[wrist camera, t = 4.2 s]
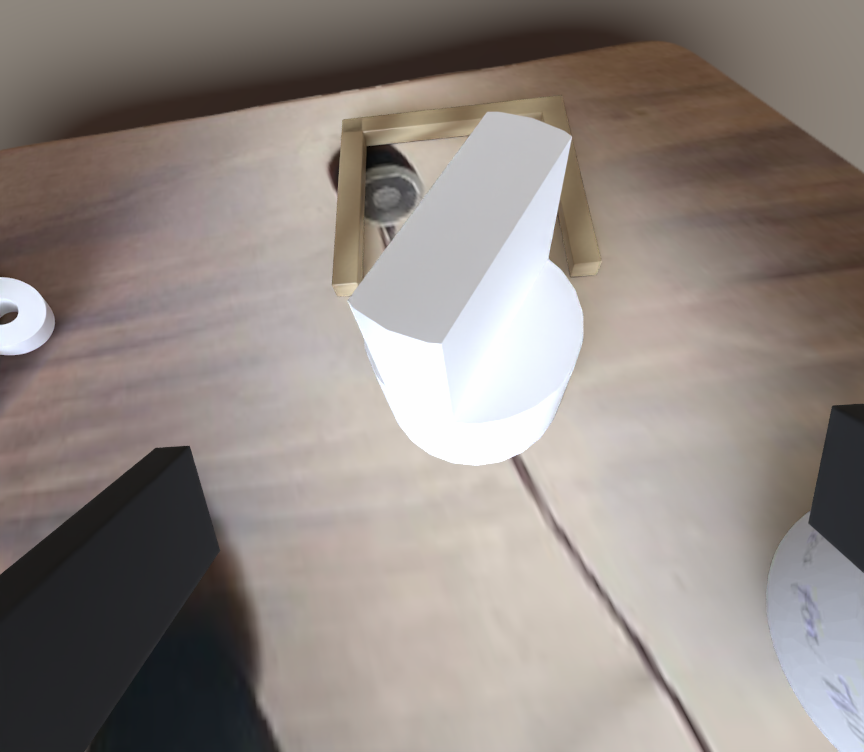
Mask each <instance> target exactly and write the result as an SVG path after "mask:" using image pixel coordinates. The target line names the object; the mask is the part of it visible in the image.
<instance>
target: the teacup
mask: <svg viewBox="0 0 864 752" xmlns="http://www.w3.org/2000/svg"><path fill="white" fill-rule="evenodd" d="M810 512H811V511H809V512H808V513H806V514H805V515H804V516H803V517H802V518H800V519H799V520H798V521H797V522H796V523H795V524H794V525H793V526H792V527H791V528H790V529H789V531H788V532H787V534H786V535H785V536H784V538H783V539H782V541H781V542H780V544H779V546H778V548H777V550H776V552H775V554H774V557H773V559H772V563H771V566H770V570H769V574H768V580H767V591H766V607H767V617H768V624H769V629H770V633H771V637H772V641H773V645H774V649H775V651H776V654H777V657H778V659H779V662H780V664H781V667H782V669H783V672H784V674H785V676H786V678H787V680H788V682H789V684H790V686H791V688H792V689H793V691H794V693H795V695H796V696H797V698H798V700H799V701H800V703H801V705H802V706H803V708H804V709H805V711H806V712H807V713H808V715H809V716H810V718H811V719H812V720H813V722H814V723H815V724H816V726H817V727H818V728H819V729H820V731H821V732H822V733H823V734H824V735H825V736H826V738H827V739H828V740H829V741H830V742H831V743H832V744H833V745H834V746H835V748H836V749H837V750H838V751H839V752H864V573H863V572H862V571H861V570H860V569H858V568H857V567H856V566H855V565H854V564H853V563H852V562H851V561H849V560H848V559H847V558H846V557H845V556H844V555H843V554H842V553H841V552H839V551H838V550H837V549H836V548H835V547H834V546H833V545H832V544H831V543H829V542H828V541H827V540H826V539H825V538H824V537H823V536H822V535H821V534H819V533H818V532H817V531H816V530H815V529H814V528H813V527H812V526H810V525H809V524H808V522H809V517H810Z"/></svg>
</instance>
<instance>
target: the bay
mask: <svg viewBox="0 0 864 752" xmlns="http://www.w3.org/2000/svg"><path fill="white" fill-rule="evenodd" d="M487 112H503V113H508V114H514V115H519V116H524V117H530V118H534V119H536V120H539V121H541V122H544V123H546V124H549V125H551V126H554V127H556V128H559V129H561V130H563V131H565V132H567V133H568V134H569V135H571V131H570V127H569V123H568V119H567V114H566V110H565V106H564V102H563V98H562V95H558V96H549V97H540V98H532V99H523V100H514V101H505V102H496V103H487V104H478V105H469V106H460V107H451V108H442V109H433V110H424V111H415V112H406V113H397V114H388V115H379V116H370V117H361V118H352V119H343V120H342V135H341V151H340V166H339V182H338V198H337V213H336V229H335V245H334V260H333V276H332V286H333V288H334V291H335V293H336V295H337V297H342V296H351V295H352V294H353V292H354V291H355V290H356V288H357V287H358V286H359V284H360V283H361V282H362V278H363V245H364V213H365V180H366V147H367V146H374V145H383V144H392V143H402V142H411V141H421V140H430V139H439V138H449V137H458V136H467V135H470V134H471V133H472V132H473V130H474V129H475V128H476V126H477V125H478V124H479V122H480V121H481V120H482V118H483V117H484V115H485V114H486V113H487ZM571 136H572V135H571ZM557 212H558V217H559V222H560V227H561V232H562V237H563V242H564V247H565V252H566V257H567V262H568V267H569V272H570V277H577V276H589V275H597V273H598V270H599V267H600V264H601V258H600V253H599V249H598V245H597V241H596V237H595V232H594V228H593V224H592V220H591V215H590V211H589V207H588V203H587V199H586V194H585V190H584V186H583V182H582V178H581V173H580V169H579V165H578V161H577V156H576V152H575V148H574V144H573V140H572V139H571V145H570V150H569V155H568V160H567V165H566V170H565V175H564V180H563V185H562V191H561V196H560V201H559V206H558V211H557Z"/></svg>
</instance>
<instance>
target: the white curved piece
mask: <svg viewBox="0 0 864 752" xmlns="http://www.w3.org/2000/svg"><path fill="white" fill-rule="evenodd" d="M9 312H19V313H18V316H17V318H16V319H15V320H14V321H12V322H10V323H8V324H4V325H0V355H19V354H24V353H28V352H30V351H33V350H35V349H37V348H39V347H40V346H42V345H43V344H44V343H45V342H46V341H47V340H48V339H49V338H50V336H51V334H52V332H53V330H54V326H55V318H54V314H53V311H52V309H51V308H50V306H49V305H48V304H47V303H46V301H45V300H44V299H43V298H42V296H41V295H40V294H39V293H38V292H37V291H36V290H35V289H34V288H33V287H32V286H30V285H28V284H26V283H25V282H22V281H20V280H16V279H12V278H6V277H0V318H1V317H2V316H3V315H4V314H6V313H9Z"/></svg>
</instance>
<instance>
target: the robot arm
mask: <svg viewBox="0 0 864 752" xmlns="http://www.w3.org/2000/svg"><path fill="white" fill-rule="evenodd" d="M808 524H809V525H810V526H812V527H813V528H814V529H815V530H816V531H817V532H818V533H819V534H821V535H822V536H823V537H824V538H825V539H826V540H827V541H828V542H829V543H831V544H832V545H833V546H834V547H835V548H836V549H837V550H838V551H839V552H841V553H842V554H843V555H844V556H845V557H846V558H847V559H848V560H849V561H851V562H852V563H853V564H854V565H855V566H856V567H857V568H858V569H860V570H861V571H862V572H863V573H864V404H851V405H835V406H832V409H831V414H830V419H829V424H828V429H827V434H826V438H825V443H824V448H823V453H822V458H821V463H820V468H819V473H818V478H817V482H816V487H815V492H814V497H813V502H812V507H811V512H810V517H809V522H808ZM219 551H220V549H219V546H218V542H217V539H216V535H215V532H214V528H213V525H212V521H211V518H210V514H209V511H208V508H207V504H206V501H205V497H204V494H203V490H202V487H201V483H200V480H199V476H198V473H197V469H196V466H195V463H194V459H193V456H192V452H191V449H190V446H179V447H163V448H155V449H154V450H153V451H151V452H150V453H149V454H148V455H146V456H145V457H144V458H143V459H142V460H140V461H139V462H138V463H137V464H135V465H134V466H133V467H132V468H131V469H129V470H128V471H127V472H126V473H124V474H123V475H122V476H121V477H119V478H118V479H117V480H116V481H115V482H113V483H112V484H111V485H110V486H108V487H107V488H106V489H105V490H104V491H102V492H101V493H100V494H99V495H97V496H96V497H95V498H94V499H93V500H91V501H90V502H89V503H88V504H86V505H85V506H84V507H83V508H82V509H80V510H79V511H78V512H77V513H75V514H74V515H73V516H72V517H70V518H69V519H68V520H67V521H66V522H64V523H63V524H62V525H61V526H59V527H58V528H57V529H56V530H55V531H53V532H52V533H51V534H50V535H48V536H47V537H46V538H45V539H44V540H42V541H41V542H40V543H39V544H37V545H36V546H35V547H34V548H33V549H31V550H30V551H29V552H28V553H26V554H25V555H24V556H23V557H21V558H20V559H19V560H18V561H17V562H15V563H14V564H13V565H12V566H10V567H9V568H8V569H7V570H6V571H4V572H3V573H2V574H1V575H0V752H84V751H85V750H86V748H87V747H88V745H89V744H90V742H91V741H92V739H93V738H94V736H95V735H96V733H97V732H98V731H99V729H100V728H101V726H102V725H103V723H104V722H105V720H106V719H107V717H108V716H109V714H110V713H111V711H112V710H113V708H114V707H115V705H116V704H117V702H118V701H119V699H120V698H121V696H122V695H123V694H124V692H125V691H126V689H127V688H128V686H129V685H130V683H131V682H132V680H133V679H134V677H135V676H136V674H137V673H138V671H139V670H140V668H141V667H142V665H143V664H144V662H145V661H146V659H147V658H148V656H149V655H150V654H151V652H152V651H153V649H154V648H155V646H156V645H157V643H158V642H159V640H160V639H161V637H162V636H163V634H164V633H165V631H166V630H167V628H168V627H169V625H170V624H171V622H172V621H173V619H174V618H175V617H176V615H177V614H178V612H179V611H180V609H181V608H182V606H183V605H184V603H185V602H186V600H187V599H188V597H189V596H190V594H191V593H192V591H193V590H194V588H195V587H196V585H197V584H198V582H199V581H200V579H201V578H202V577H203V575H204V574H205V572H206V571H207V569H208V568H209V566H210V565H211V563H212V562H213V560H214V559H215V557H216V556H217V554H218V553H219Z"/></svg>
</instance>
